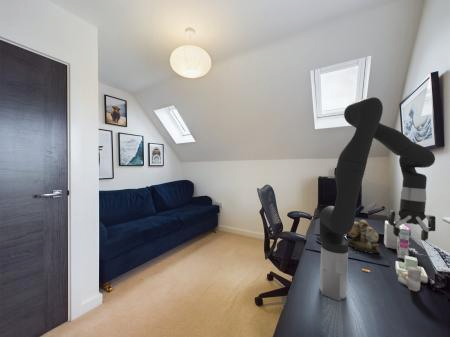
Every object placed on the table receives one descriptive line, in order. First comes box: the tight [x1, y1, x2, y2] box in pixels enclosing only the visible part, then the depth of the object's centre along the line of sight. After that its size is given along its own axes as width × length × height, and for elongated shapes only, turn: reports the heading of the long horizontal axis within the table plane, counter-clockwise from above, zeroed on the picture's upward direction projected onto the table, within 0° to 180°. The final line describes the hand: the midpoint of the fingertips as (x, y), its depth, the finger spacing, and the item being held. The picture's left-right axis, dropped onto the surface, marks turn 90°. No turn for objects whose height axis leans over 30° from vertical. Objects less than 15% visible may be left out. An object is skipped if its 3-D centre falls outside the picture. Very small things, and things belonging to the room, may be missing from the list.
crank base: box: [361, 268, 422, 287], centre depth 89 cm, size 20×7×2 cm, turn 53°
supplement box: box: [383, 220, 406, 250], centre depth 125 cm, size 9×9×15 cm
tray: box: [394, 260, 429, 284], centre depth 92 cm, size 10×10×3 cm
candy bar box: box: [396, 224, 412, 261], centre depth 112 cm, size 11×5×16 cm, turn 141°
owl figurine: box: [347, 219, 381, 254], centre depth 121 cm, size 18×12×17 cm, turn 34°
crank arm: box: [401, 267, 421, 293], centre depth 81 cm, size 15×5×8 cm, turn 143°
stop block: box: [403, 255, 419, 271], centre depth 92 cm, size 4×4×7 cm
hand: (409, 238), depth 82 cm, fingers open, 8 cm apart
